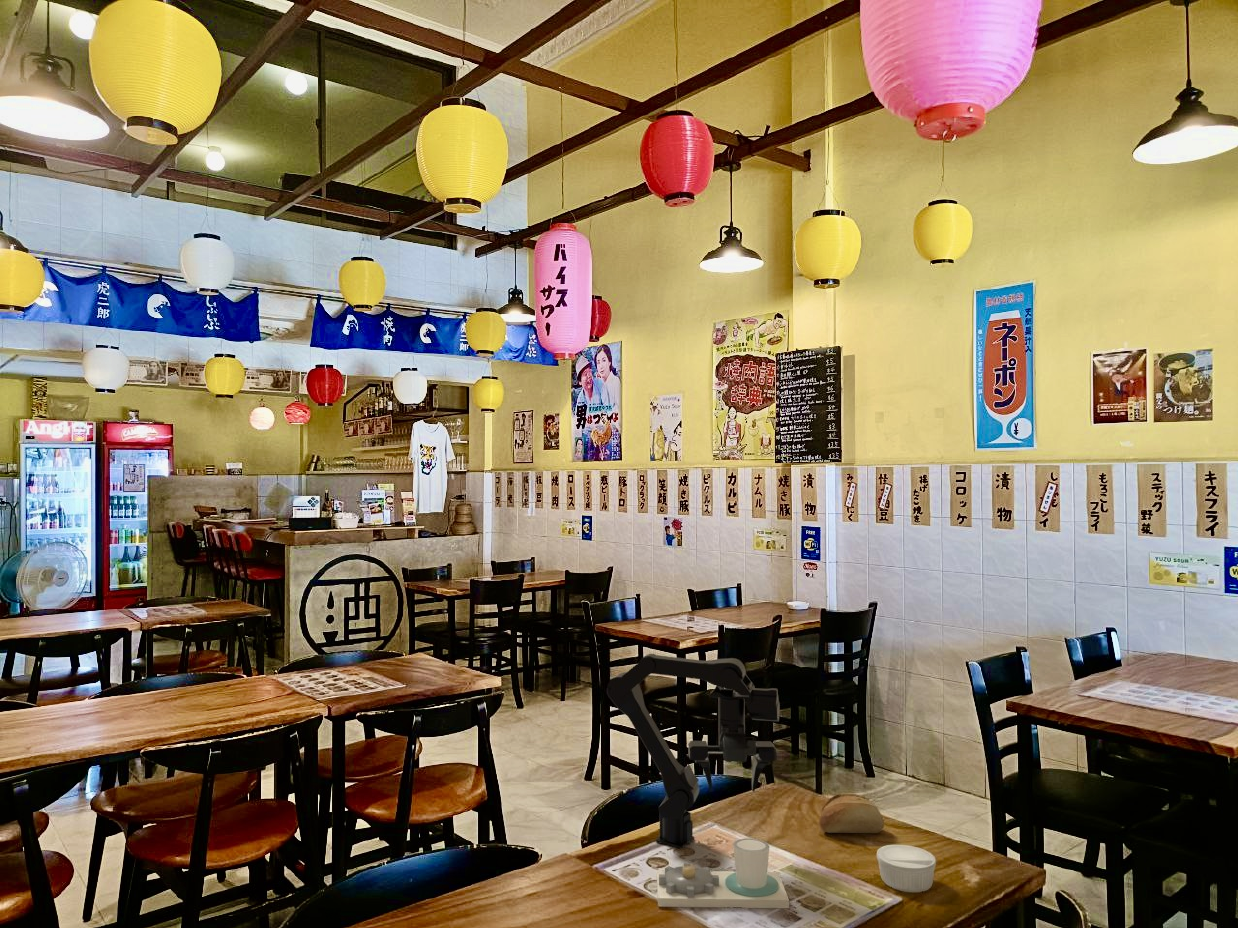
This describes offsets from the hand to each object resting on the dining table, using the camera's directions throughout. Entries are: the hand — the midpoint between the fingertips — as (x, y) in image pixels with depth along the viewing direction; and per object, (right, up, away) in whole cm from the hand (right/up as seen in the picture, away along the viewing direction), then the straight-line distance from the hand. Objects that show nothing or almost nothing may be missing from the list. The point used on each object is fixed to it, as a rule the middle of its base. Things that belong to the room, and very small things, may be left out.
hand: (732, 790), depth 181 cm
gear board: (-5, -11, -23) cm, 25 cm away
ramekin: (+32, -11, -18) cm, 38 cm away
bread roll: (+28, -13, +9) cm, 32 cm away
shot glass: (+1, -9, -22) cm, 24 cm away
